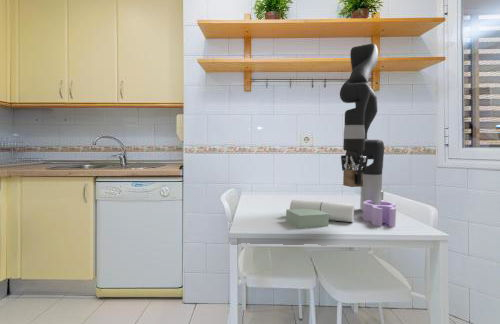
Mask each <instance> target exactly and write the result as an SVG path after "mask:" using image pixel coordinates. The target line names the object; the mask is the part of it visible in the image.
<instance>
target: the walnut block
mask: <svg viewBox="0 0 500 324" xmlns="http://www.w3.org/2000/svg"><path fill="white" fill-rule="evenodd" d="M357 171H358V169H357ZM342 178H343V181H342V182H343V183H342V185H343V186H345V187H350V188H359V187H360V188H361V187H363V173H362V174H361V184H358V185H356V184H355V170H354V168H353V169H350V168H349V169H344V171H343V174H342Z"/></svg>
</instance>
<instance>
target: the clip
mask: <svg viewBox="0 0 500 324" xmlns="http://www.w3.org/2000/svg"><path fill="white" fill-rule="evenodd" d="M396 215H397V208H396V203H394V202H391V201H386V200H383V201H380V205H373V201H371V200H366V201H364V202H363V211H362V219H363V220H364V221H366V222H369V223H370V222H371V224H372V225H373V226H375V227H381V228H382V227H383V224H388V227H389V228H394V227H396V218H397V216H396Z"/></svg>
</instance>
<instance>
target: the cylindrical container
mask: <svg viewBox="0 0 500 324" xmlns="http://www.w3.org/2000/svg"><path fill="white" fill-rule="evenodd" d="M304 208H306V209H317V210H320V211H322V212H325V213H328V214H329V221H335V222H336V221H337V222H345V223H354V216H355V204H353V203H342V202H340V203H338V202H330V201H329V202H327V201H326V202H325V201H316V200H302V199H301V200H300V199H291V201H290V204H289V209H304Z"/></svg>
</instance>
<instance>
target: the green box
mask: <svg viewBox="0 0 500 324" xmlns="http://www.w3.org/2000/svg"><path fill="white" fill-rule="evenodd" d="M285 214H286V215H285V221H286V222H287V223H289V224H291V225H293V226H295V227H296V228H298V229H307V228H308V229H311V228H319V227H329V221H330V220H329V214H328V213H325V212H322V211H320V210H317V209H306V208H304V209H290V208H289V209H286V210H285Z"/></svg>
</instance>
